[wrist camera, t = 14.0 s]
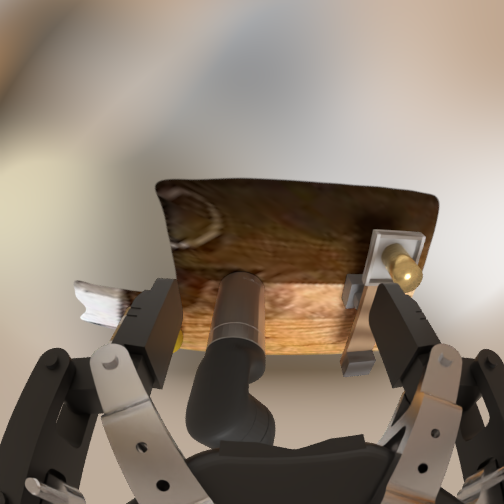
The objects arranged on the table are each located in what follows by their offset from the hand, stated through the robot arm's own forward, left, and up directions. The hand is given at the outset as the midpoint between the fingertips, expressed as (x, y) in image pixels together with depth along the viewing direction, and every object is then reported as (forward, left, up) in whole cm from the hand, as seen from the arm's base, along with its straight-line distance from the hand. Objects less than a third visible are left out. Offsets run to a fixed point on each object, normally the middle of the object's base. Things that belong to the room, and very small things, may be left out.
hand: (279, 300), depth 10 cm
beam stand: (-11, -31, -36) cm, 49 cm away
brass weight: (-1, -25, -27) cm, 37 cm away
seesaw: (-11, -31, -29) cm, 44 cm away
